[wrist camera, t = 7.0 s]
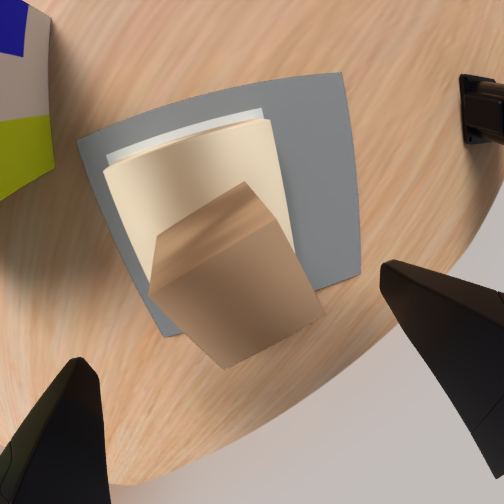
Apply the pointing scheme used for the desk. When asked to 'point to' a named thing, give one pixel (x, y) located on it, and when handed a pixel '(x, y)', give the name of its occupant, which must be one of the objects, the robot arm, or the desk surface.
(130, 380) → the desk surface
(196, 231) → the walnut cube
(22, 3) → the puzzle toy
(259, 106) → the build mat
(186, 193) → the maple slab
